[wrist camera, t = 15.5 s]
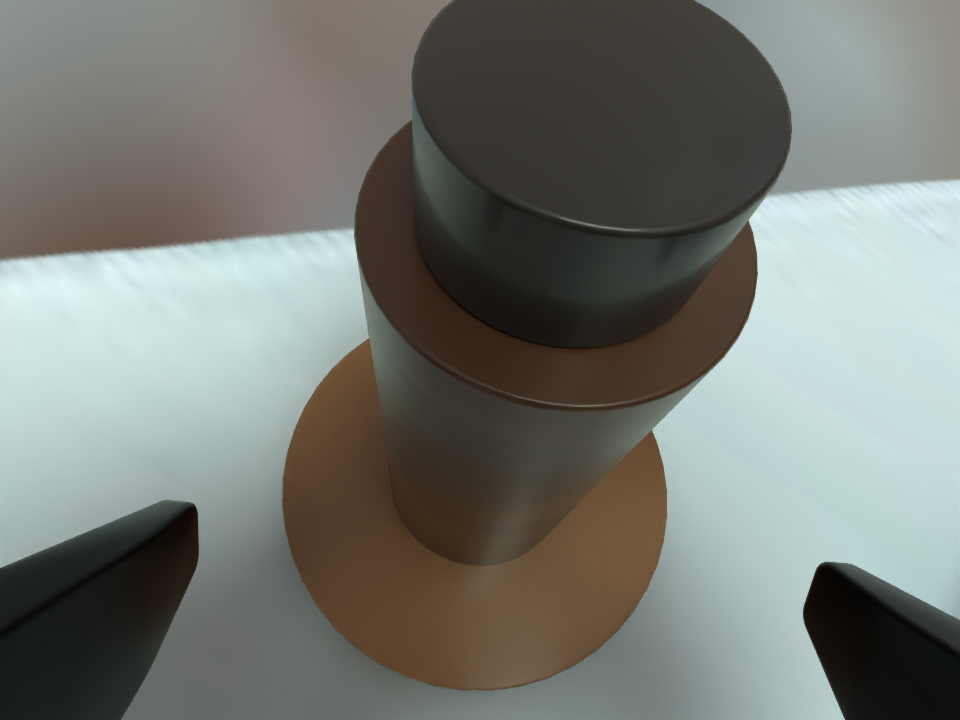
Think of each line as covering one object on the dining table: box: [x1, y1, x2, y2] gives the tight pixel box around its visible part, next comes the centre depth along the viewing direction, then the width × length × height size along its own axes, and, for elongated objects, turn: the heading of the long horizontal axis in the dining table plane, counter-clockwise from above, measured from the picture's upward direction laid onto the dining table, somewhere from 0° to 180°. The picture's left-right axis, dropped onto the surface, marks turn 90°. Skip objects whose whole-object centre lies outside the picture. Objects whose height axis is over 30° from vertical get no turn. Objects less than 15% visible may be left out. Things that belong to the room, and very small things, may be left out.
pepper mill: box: [354, 0, 792, 566], centre depth 11 cm, size 5×5×13 cm
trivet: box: [282, 339, 667, 691], centre depth 18 cm, size 11×11×1 cm
